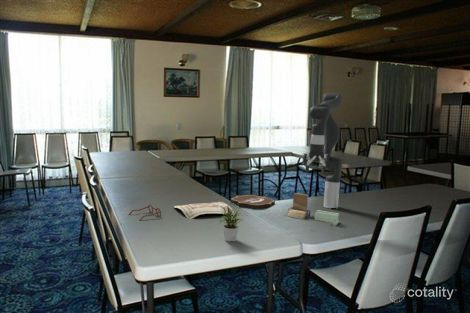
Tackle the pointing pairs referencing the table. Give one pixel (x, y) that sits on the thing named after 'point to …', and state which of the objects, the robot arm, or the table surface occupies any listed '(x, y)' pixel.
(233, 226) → the house plant
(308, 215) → the offcut rack
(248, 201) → the decorative plaque
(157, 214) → the glasses
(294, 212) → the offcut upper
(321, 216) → the slotted stand
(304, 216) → the offcut lower
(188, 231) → the table surface
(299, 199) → the walnut sheet
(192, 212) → the poster
